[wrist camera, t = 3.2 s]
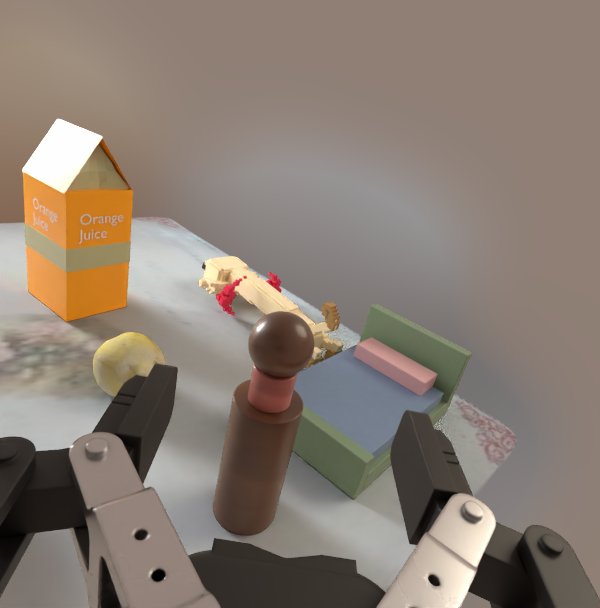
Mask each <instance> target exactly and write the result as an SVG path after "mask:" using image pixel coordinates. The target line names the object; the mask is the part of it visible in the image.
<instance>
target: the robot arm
mask: <svg viewBox="0 0 600 608" xmlns="http://www.w3.org/2000/svg"><path fill="white" fill-rule="evenodd" d="M177 372H178V368H177V367H174V366H168V365H163V364H157V363H155V364H154V366H153V368H152V369H151V371H150V373H149V375H148V376H147V377H145V376H140V375H135V376H134V377H132V378H130V379H129V380H127V381H126V382H124V384H123V385H122V387H121V388H120V390H119V391H118V393H117V395H116V396H115V398H114V399H113V401H112V403H111V404H110V405H109V407H108V408H107V410H106V412H105V413H104V415H103V416H102V418H101V419H100V421H99V422H98V424H97V426H96V427H95V429H94V430H93V432H92V433H90V434H87V435H84V436H82V437H80V438H79V439H77V440H76V441H75V442H74V443H73V444H72V446H71V447H70V448H66V449H60V450H48V451H36V449H35V446H34V444H33V443H32V442H31V441H29V440H28V439H25V438H22V437H4V438H0V597H1V595H2V593H3V591H4V589H5V587H6V586H7V584H8V582H9V580H10V578H11V577H12V575H13V573H14V571H15V569H16V567H17V566H18V564H19V562H20V560H21V558H22V556H23V555H24V553H25V551H26V549H27V547H28V545H29V544H30V542H31V540H32V538H33V536H34V534H35V533H38V532H45V531H53V530H61V529H68V528H70V531H71V534H72V537H73V541H74V544H75V547H76V551H77V554H78V557H79V561H80V564H81V567H82V571H83V574H84V577H85V581H86V585H87V591H88V599H89V605H90V608H460V607H461V605H462V603H463V601H464V598H465V596H466V594H467V592H468V591H469V592H471V593H473V594H475V595H477V596H479V597H481V598H484V599H486V600H488V601H490V604H491V608H600V599H599V597H598V595H597V593H596V592H595V590H594V588H593V586H592V584H591V583H590V580H589V578H588V577H587V575H586V573H585V571H584V569H583V567H582V565H581V563H580V561H579V560H578V558H577V556H576V554H575V552H574V550H573V549H572V547H571V546H570V545H569V544H568V542H567V541H566V540H565V539H564V538H562V537H561V536H560V535H559V534H557V533H556V532H554V531H553V530H551V529H549V528H546V527H543V526H539V525H532V526H529V527H528V528H527V529H526V531H525V532H524V534H522V533H519V532H517V531H515V530H513V529H510V528H508V527H505V526H503V525H501V524H499V523H497V522H496V519H495V517H494V514H493V513H492V511H491V510H490V509H489V508H488V507H487V505H485V504H484V503H483V502H482V501H480V500H479V499H477V498H475V497H473V495H472V492H471V490H470V487H469V485H468V483H467V480H466V478H465V475H464V473H463V471H462V468H461V466H460V465H459V461H458V458H457V456H455V451H454V449H453V446H452V444H451V442H450V441H449V440H448V438H447V437H446V436H445V435H444V434H443V433H442V432H441V431H440V430H434V427H433V425H432V422H431V419H430V417H429V415H428V414H426V413H421V412H416V411H410V410H406V411H405V412H404V413H403V416H402V418H401V421H400V424H399V426H398V429H397V432H396V434H395V437H394V439H393V442H392V446H391V452H390V460H391V465H392V469H393V474H394V478H395V482H396V487H397V491H398V496H399V500H400V504H401V509H402V513H403V517H404V522H405V526H406V530H407V535H408V539H409V543H410V544H414V545H417V546H416V548H415V549H414V551H413V552H412V554H411V555H410V557H409V558H408V560H407V561H406V563H405V565H404V566H403V568H402V569H401V571H400V572H399V574H398V575H397V577H396V578H395V580H394V581H393V583H392V585H391V586H390V588H389V589H388V591H387V592H386V593H385V592H384V591H383V590H382V589H381V588H380V587H379V586H378V585H376V584H375V583H373V582H372V581H371V580H369V579H367V578H366V577H364V576H362V575H360V574H358V573H357V568H356V560H350V559H343V558H337V557H331V556H324V555H317V556H307V557H296V558H283V557H280V556H278V555H276V554H273V553H271V552H268V551H266V550H263V549H261V548H259V547H256V546H254V545H251V544H248V543H241V542H235V541H229V540H222V539H216V538H214V542H213V547H212V550H208V551H202V552H197V553H194V554H191V555H188V554H187V552H186V550H185V548H184V546H183V544H182V542H181V540H180V538H179V536H178V534H177V532H176V530H175V528H174V526H173V524H172V522H171V520H170V518H169V516H168V514H167V512H166V510H165V508H164V506H163V504H162V502H161V500H160V498H159V496H158V494H157V493H156V491H155V489H154V488H152V487H149V488H146V489H145V487H144V486H143V483H144V480H145V478H146V476H147V473H148V471H149V469H150V466H151V464H152V461H153V459H154V457H155V454H156V452H157V450H158V447H159V445H160V443H161V440H162V438H163V436H164V433H165V431H166V429H167V426H168V424H169V421H170V418H171V415H172V411H173V406H174V399H175V390H176V381H177Z"/></svg>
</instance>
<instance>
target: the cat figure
mask: <svg viewBox="0 0 600 608" xmlns="http://www.w3.org/2000/svg"><path fill="white" fill-rule="evenodd" d="M202 268H203V269H204V270H203V271H204V272H205V273H204V278H203V279H200V281H199V286H200V287H203V288H206V291H209V289H211V290H210V291H209V294H212V293H214V292H215V293H218V294H216V299H217V300H218V301H219V304H220V305H221V306H222V307H223V311H226V312H228V314H232V315H234V314H235V313H234V312H232V307H229V305H231V304H232V299H233V298H235V294H237V295H241V296H242V297H244V298H245V299H246V300H247V301H248V302H249V303H250V304H252V305H255V306H257V307H258V308H259V309H260V310H261V311H262V312H263V313H265V314H266V315H267V314H270V313H272V312H277V311H285V312H290V313H293V314H296V315H298V316H299V317H301V318H302V319H303V320H304V321H305V322H306V323H307V324H308V325H309V327H310V329H311V331H312V333H313V337H314V351H313V355H312V358H311V360H310V361H309V363H308V364H307V366H306V367H305V368H306V369H307V368H309V367H311V366H313V365H315V364H317V363H319V362H321V361H322V360H323V358H322V357H321V354H322V351H321V350H320V349H321V348H325V349H326V350H327V351H326V354H325V357H324V358H326V359H328V358H330V357H332V356H334V355H336V354H338V353H340V352H342V350H341V349H342V347H343V344H342V343H341V342H339V341H335V340H330V339H329V335H327V334H326V332H330V331H334V330H337V329H338V327H339V324H340V322H338V320H339V318H340V317H339V316H338V314H339V313H338V312H337V309H336V305H335V304H333V303H332V302H328V303H325V304H323V306H322V309H321V311H322V315H323V316H325V320H326V321H324V322H321V323H318V324H314V322H313V321H312V320H310V319H309V318H308V317H307V316H305V315H304V314H303V313H302V312H301V311H300V309H299V307H297V306H296V305H295V304H294V303H292V302H291V301H290V300H289V299H287V298H286V297H285V296H284V295H282V294H281V289H280V288H279V286H280V283H281V281H280V279H277V275H274V274H272V273H271V272H270V273H269V275H271V277H272V279H269V280H268V281H267V282H266V281H265V280H264V279H259V276H257V274H256V273H255V272H251V271H249V270H248V268H249V267H248V266H247V265H246V264H245V263H243V262H242V261H241V260H240V259H238V258H237V257H234V256H231V257H220V258H211V259H209V261H205V262H204V263H203V265H202ZM231 312H232V313H231ZM328 350H329V351H328Z"/></svg>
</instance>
